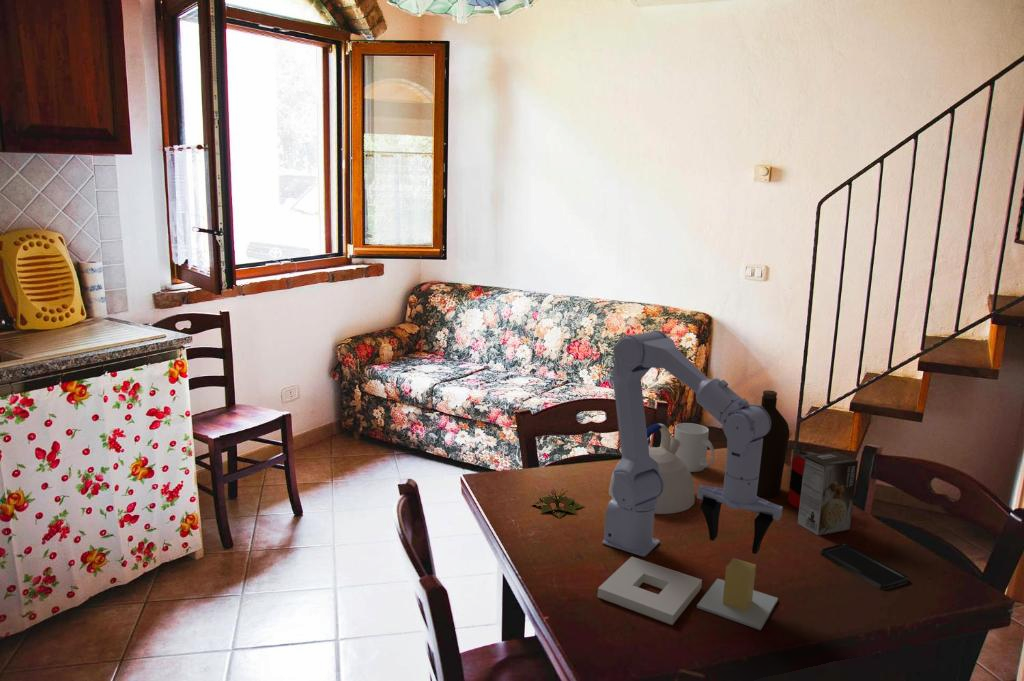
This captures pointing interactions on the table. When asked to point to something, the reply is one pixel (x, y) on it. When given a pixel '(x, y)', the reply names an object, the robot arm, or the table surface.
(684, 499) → the kettle
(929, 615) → the table surface
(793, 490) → the soda can
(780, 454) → the olive oil
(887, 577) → the phone
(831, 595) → the table surface
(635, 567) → the pocket holder
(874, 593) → the table surface
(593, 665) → the table surface
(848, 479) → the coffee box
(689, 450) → the mug
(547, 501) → the green leafy plant
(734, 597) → the block
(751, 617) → the mat
